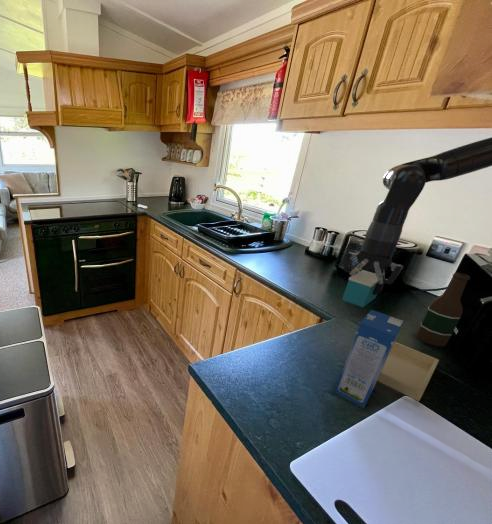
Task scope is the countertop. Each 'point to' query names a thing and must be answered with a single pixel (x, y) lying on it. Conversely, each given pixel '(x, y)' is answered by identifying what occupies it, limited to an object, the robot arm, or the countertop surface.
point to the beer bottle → (443, 313)
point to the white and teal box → (361, 288)
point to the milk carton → (367, 356)
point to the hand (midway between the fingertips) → (362, 289)
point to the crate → (407, 371)
